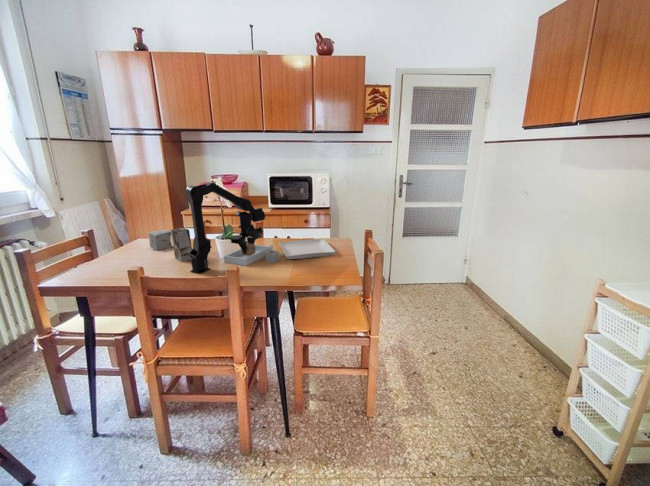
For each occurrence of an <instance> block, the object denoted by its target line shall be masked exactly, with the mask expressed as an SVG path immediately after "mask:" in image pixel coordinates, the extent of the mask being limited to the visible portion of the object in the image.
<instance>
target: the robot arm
mask: <svg viewBox="0 0 650 486" xmlns="http://www.w3.org/2000/svg"><path fill="white" fill-rule="evenodd" d="M210 193H213V194H215V195H217V196H219V197H220V198H223V199H225V200H226V201H228V200H229V203H231V204H232V205H233V206H234V207H236V208H237V209H238V210H237V212H236V213H235V214H234V216H236V217H239V218H238V219H239V225H238V228H239V229H240V233H238V234H239V235H236V236H233V237H231V238H230V243H231V244H237V245H238V246H239V247H240V249H242V250H243V252H244V253H245V254H246V244H247V243H250V244H256V240H259V239H260V238H262V235H264V230H263V227H262V226H260V227H257V228H255V225H254V224H252V222H253V223H257V222H261V221H264V220H265V219H266V214H265V211H264V210H263V208H262V207H257V208H255V207H254V206H253V205H252V202H251V200H250V199H247V198H243V197H240V196H237V195H236V194H235V193H234V194H233V193H232V192H230V191H228V190H226V189H224V188H223V187H221V186H220V185H218V184H216V183H215V182H208V183H204V184H199V185H189V186H187V187H186V188H185V189H184V194H185V197H186V199H187V202H188V204H189V206H190V210H191V211H190V212H191V217H192V218H191V219H192V225H193V232H194V238H193V242H192V250H191V251H190V253H189V256H190V257H191V258H193V259H191V260H190V262H191V268H192V269H190V273H195V274H203V273H205V272H207V271H209V270H210V269H211V267H209V264H208V257H209V254H210V252H211V249H212V245H211V244H212V243H211V239H210V238H208V237H206V233H205V232H206V230H205V224H204V223H205V222H204V217H203V216H204V215H203V207H202V206H203V202H204V196H206V195H207V196H208V195H209V194H210Z"/></svg>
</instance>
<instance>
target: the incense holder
mask: <svg viewBox="0 0 650 486" xmlns="http://www.w3.org/2000/svg"><path fill="white" fill-rule="evenodd" d="M148 239H149V248H151V249H153V250H156V251H160V250H162V249H165V248H169V247H173V242H172V237H171V231H170V230H166V229H164V228H163V229H158V230H155V231H149V232H148Z"/></svg>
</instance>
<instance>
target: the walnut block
mask: <svg viewBox="0 0 650 486" xmlns="http://www.w3.org/2000/svg"><path fill="white" fill-rule="evenodd" d="M255 245H256V243H254V244H250V243H247V244H246V254H245V253H244V252H243V250H242V249H241V248H240V249H241V250H242V255H247V256H250V255H252V254H255Z"/></svg>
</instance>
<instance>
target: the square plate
mask: <svg viewBox="0 0 650 486" xmlns="http://www.w3.org/2000/svg"><path fill="white" fill-rule="evenodd" d="M278 244H279V246H280V247H281V249H282V251H283V255H284V257H285V258H287V259H288V260H302V259H313V258H319V257H329V256H333V255H335V254H336V253H337V251H336V250H335V249H334V248H333V247H332V246H331V245H330V244H329V243H328V242H327V241H326V240H325V239H324V238H313V239H301V240H300V239H299V240H289V241H288V240H287V241H280V242H278Z"/></svg>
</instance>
